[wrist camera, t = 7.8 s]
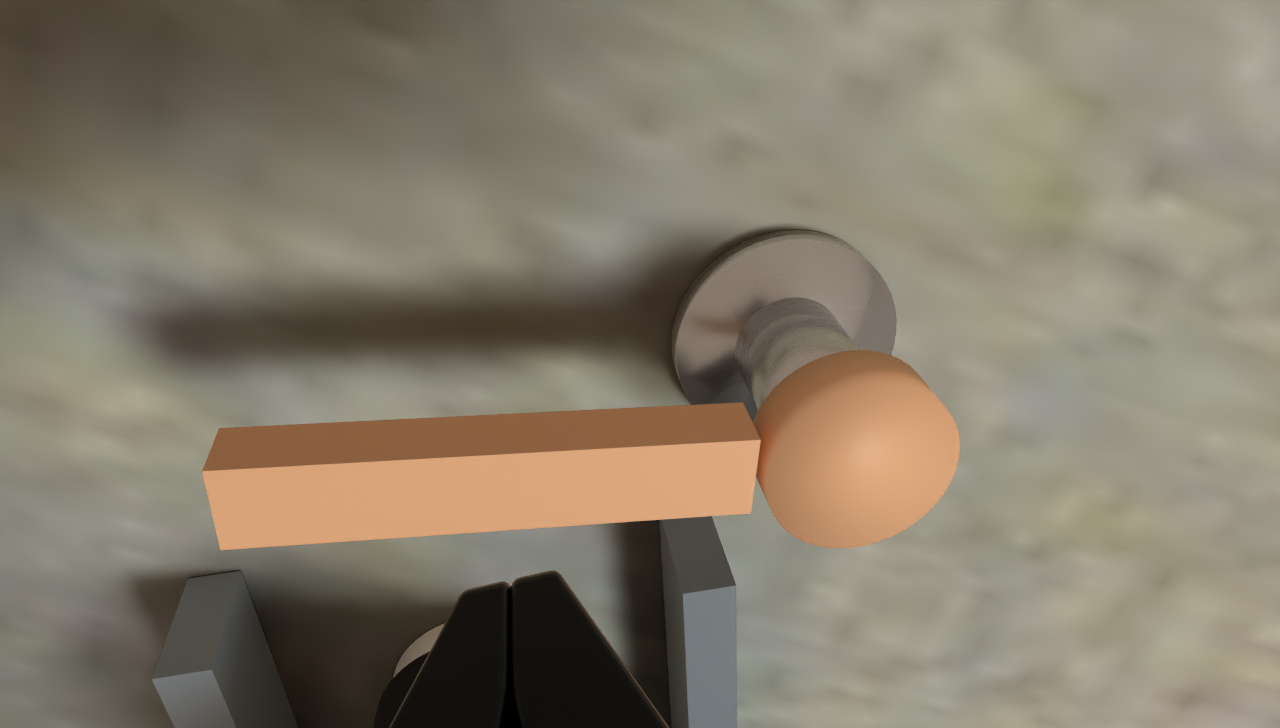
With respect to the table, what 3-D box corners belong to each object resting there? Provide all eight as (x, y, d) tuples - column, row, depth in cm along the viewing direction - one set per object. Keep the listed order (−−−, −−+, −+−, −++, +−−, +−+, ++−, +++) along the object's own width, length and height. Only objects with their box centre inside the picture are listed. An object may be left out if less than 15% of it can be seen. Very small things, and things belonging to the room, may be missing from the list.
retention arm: (949, 345, 17) (980, 379, 16) (911, 501, 19) (937, 541, 18) (207, 376, 15) (189, 417, 14) (244, 548, 17) (230, 595, 16)
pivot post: (877, 410, 23) (942, 503, 20) (675, 439, 22) (710, 538, 19) (894, 217, 20) (972, 289, 17) (666, 244, 20) (704, 324, 17)
